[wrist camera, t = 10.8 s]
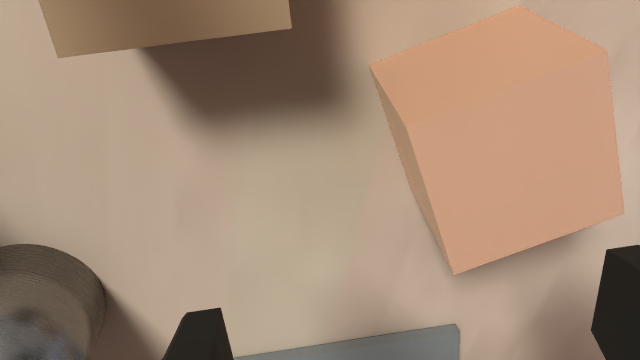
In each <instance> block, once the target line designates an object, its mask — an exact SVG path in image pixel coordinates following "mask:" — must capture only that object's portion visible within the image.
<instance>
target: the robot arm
mask: <svg viewBox="0 0 640 360" xmlns="http://www.w3.org/2000/svg"><path fill="white" fill-rule="evenodd" d="M591 331H592V333H593V335H594V337H595V339H596V341H597V343H598V345H599V347H600V349H601V351H602V353H603V355H604V357H605V359H606V360H640V245H634V246H627V247H621V248H614V249H607V250H606V255H605V260H604V265H603V270H602V276H601V281H600V286H599V291H598V296H597V302H596V307H595V312H594V317H593V322H592V327H591ZM162 360H234V359H233V355H232V351H231V347H230V343H229V339H228V335H227V331H226V327H225V323H224V319H223V315H222V311H221V308H215V309H208V310H201V311H195V312H188V313H186V314H185V316H184V317H183V318H182V320H181V322H180V324H179V326H178V328H177V330H176V333H175V335H174V337H173V339H172V341H171V343H170V345H169V347H168V349H167V351H166V353H165V355H164V357H163V359H162Z"/></svg>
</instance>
